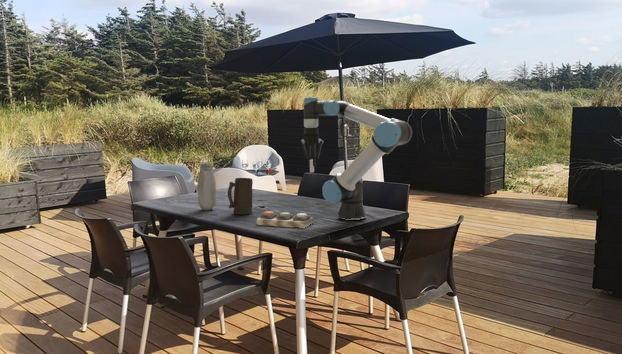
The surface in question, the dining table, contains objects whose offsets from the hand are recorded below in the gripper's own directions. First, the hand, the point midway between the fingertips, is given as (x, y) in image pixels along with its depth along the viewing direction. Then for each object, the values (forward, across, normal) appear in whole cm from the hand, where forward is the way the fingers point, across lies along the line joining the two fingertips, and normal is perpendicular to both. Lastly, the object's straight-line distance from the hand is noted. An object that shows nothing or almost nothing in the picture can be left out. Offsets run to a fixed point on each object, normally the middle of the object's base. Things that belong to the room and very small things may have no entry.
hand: (312, 172), depth 270 cm
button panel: (+25, +10, +16) cm, 31 cm away
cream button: (+21, +1, +17) cm, 27 cm away
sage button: (+21, +10, +16) cm, 29 cm away
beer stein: (+25, +43, -3) cm, 49 cm away
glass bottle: (+24, +67, -11) cm, 72 cm away
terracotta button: (+21, +19, +16) cm, 33 cm away
